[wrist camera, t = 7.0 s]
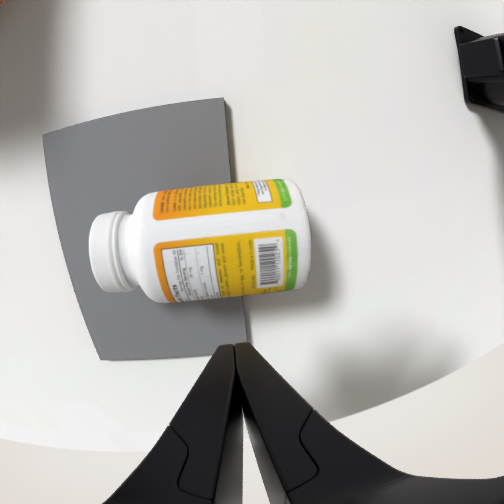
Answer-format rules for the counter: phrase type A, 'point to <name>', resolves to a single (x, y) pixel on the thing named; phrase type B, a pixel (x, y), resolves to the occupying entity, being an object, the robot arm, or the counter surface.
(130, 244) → the supplement bottle
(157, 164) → the charcoal mat
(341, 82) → the counter surface
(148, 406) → the counter surface
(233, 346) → the robot arm
